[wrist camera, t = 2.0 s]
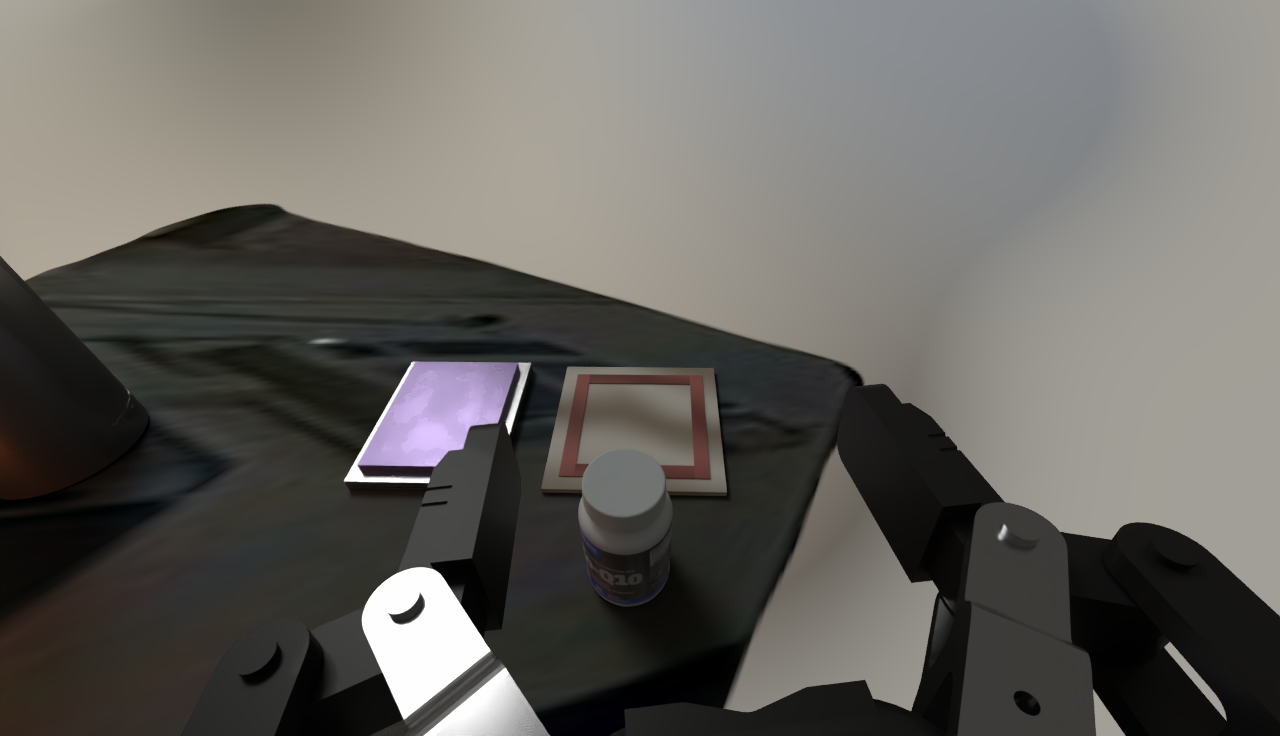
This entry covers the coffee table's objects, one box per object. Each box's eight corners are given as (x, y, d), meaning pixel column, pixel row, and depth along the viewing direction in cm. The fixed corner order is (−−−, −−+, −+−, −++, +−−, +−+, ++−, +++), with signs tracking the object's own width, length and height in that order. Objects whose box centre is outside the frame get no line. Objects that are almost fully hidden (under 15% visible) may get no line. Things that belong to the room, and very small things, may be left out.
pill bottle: (572, 585, 29) (551, 498, 23) (613, 518, 32) (605, 428, 26) (647, 625, 27) (645, 542, 21) (683, 551, 30) (690, 462, 24)
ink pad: (497, 491, 33) (492, 477, 32) (348, 488, 34) (339, 474, 33) (532, 370, 42) (529, 356, 41) (415, 368, 43) (409, 355, 42)
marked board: (726, 496, 33) (727, 491, 32) (542, 492, 33) (540, 487, 33) (713, 371, 42) (713, 367, 41) (568, 370, 42) (567, 366, 42)
